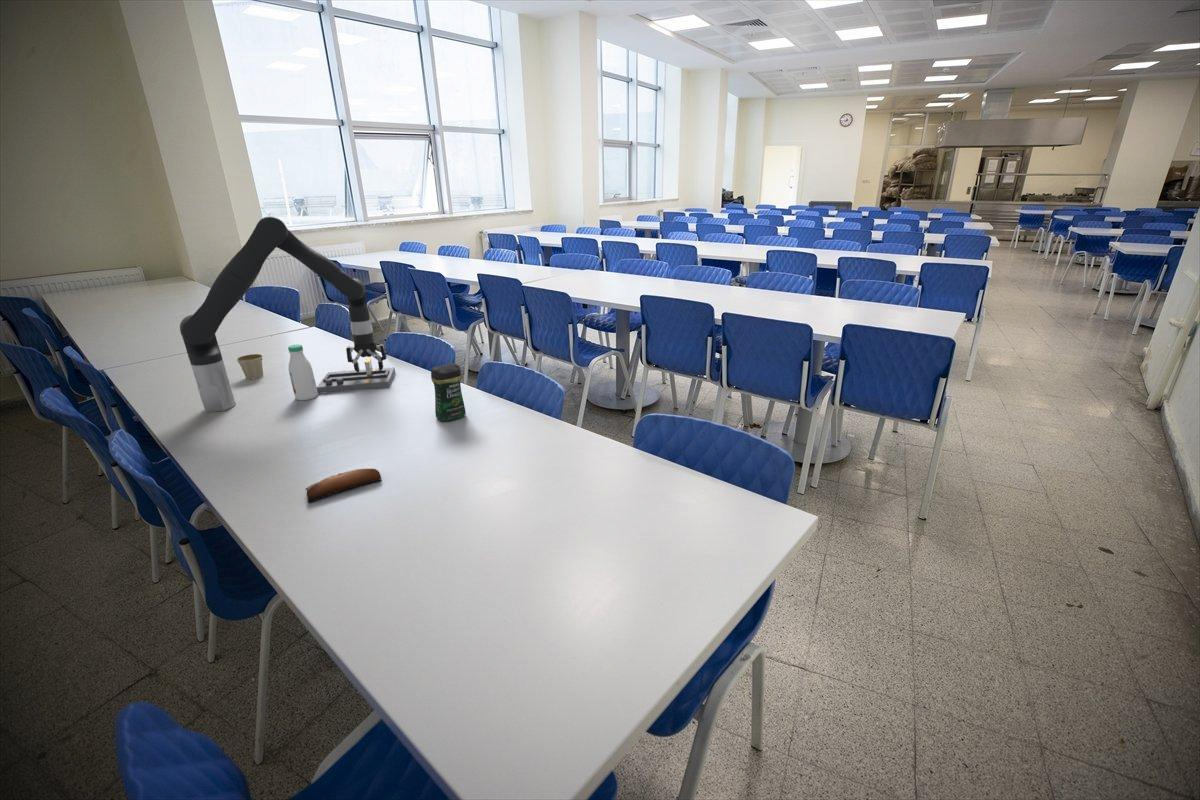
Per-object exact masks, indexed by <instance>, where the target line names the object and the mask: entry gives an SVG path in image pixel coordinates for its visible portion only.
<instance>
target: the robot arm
mask: <svg viewBox="0 0 1200 800" xmlns="http://www.w3.org/2000/svg"><path fill="white" fill-rule="evenodd" d="M275 249H279V250H281V251H282V252H285V253H287V254H289V255H290V256H291V257H293V258H294V259H296V260H297V261H299V262H300V263H301V264H303V265H304V266H305V267H307V268H308V269H309V270H310V271H312V272H313V273H315V274H316V275H317V276H319V277H320V278H321V279H323V280H324V281H326V282H327V283H329V284H331V285H332V286H333V287H334V288H335V289H336V290H338V292H340V293H341V294H342V295H343V296H344V297H346V298H347V302H348V315H349V320H350V330H351V334H352V340H353V344H354V345H353V346H350V345H349V346H347V347H346V349H345V351H346V358H347V362H348V363H352V364H353V367H354V369H353V370H355V371H357V372H359V371H360V370H361V369H360V366H359V362H358V360H359V359H360V357H361V358H366V357H368V358H372V357H373V358H374V359H375V360H377V364H378V369H379V371H381V370H382V369H383V368H384V363H383V361H385V360H387V358H388V356H387V353H386V348H385V344H384V343H381V344H376V342H375V335H374V328H373V325H372V321H371V318H370V311H369V307H368V301H367V292H366V291H367V290H366V285H365V283H364V282H363V281H362V280H360V279H358V278H353V277H351V276H350V275H348V274H347V273H346V272H345V271H344V270H343V269H342V267H340V266H339V265H338V264H336V263H334V261H332V260H330V259H329V258H328V257H326V256H325V255H323V254H322V253H320V252H318V251H317V250H315V249H313V248H312V247H310V246H309V245H307V244H306V243H305V242H303V241H302V240H301V239H299V238H298V237H297V236H296V235H294V233H292V232H291V230H289V229H288V227H287V226H286V224H285V223H284V222H283V220H281V219H280V218H278V217H275V216H265V217H263V218H261V219H260V220H258V222H257V224H256V225H255V228H254V229H253V231H252V232H251V234H250V236H249V238H248V240H247V241H246V242H245V244H244V245H243V246H242V248H241V249H239V250H238V251H237V252H236V254H235V255H234V256H233V257H232V258H231V259H230V261H229V262H228V263H227V264H226V265H225V266H224V267H223V269H222V270H221V271H220V272H219V274H218V275H217V277H216V278H215V280H214V282H213V284H212V285H211V286H210V289H209V290H208V294H207V295H206V298H205V299H204V301H203V303H202V304H201V305H200V306H199V308H198V309H197V310H196V311H195V312H194V313H193V314H190V315H187V316H185V317H184V318H182V320H181V322H180V324H179V332H180V335H181V337H182V340H183V343H184V346H185V351H186V354H187V357H188V361H189V363H190V366H191V369H192V373H193V377H194V378H195V382H196V385H197V390H198V392H199V393H198V394H199V396H200V399H201V402H202V406H203V408H204V413H210V412H211V413H213V412H215V413H216V412H223V411H226V410H228V409H232V408H233V407H234V406H236V401H235V398H234V397H235V396H234V393H233V391H232V386H231V384H230V379H229V377H228V373H227V370H226V367H225V362H224V358H223V356H222V352H221V349H220V345H219V343H218V339H217V336H216V333H217V331H218V330H219V327H220V326H221V324H222V322H223V321H224V320H225V318H226V317H227V316H228V314H229V313H230V311H231V310H233V308H234V307H235V306H236V305H237V304H238V303H239V302H240V301H241V299H242V298H243V297H244V296H245V294H246V293H248V291H249V289H250V288H251V287H252V285H253V284H254V282H255V281H256V279H257V278H258V276H259V274H260V272H261V270H262V268H263V266H264V263H265V262H266V260H267V258H268V257H269V256H270V255H271V254H272V252H273V251H275ZM377 349H378V351H380V353H381V355H380V354H379V353H378V352H377ZM353 351H354V352H355V353H356V356H355V357H354V358H353V355H352V353H353Z"/></svg>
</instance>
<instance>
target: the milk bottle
mask: <svg viewBox="0 0 1200 800" xmlns="http://www.w3.org/2000/svg"><path fill="white" fill-rule="evenodd" d="M287 349H288V353H289V355H290V358H289V363H288V374H289V379H290V382H291V387H292V391H293V395H294V398H295V400H297V401H310V400H312V399H315V398H317V397H318V395H319V393H318V391H317V383H316V379H315V375H314V371H313V367H312V365H311V363H310V361H309V360H308V358H307V357H306V356H305V354H304V347H303V345H302V344H292V345H289V346H287Z"/></svg>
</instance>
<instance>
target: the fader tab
mask: <svg viewBox="0 0 1200 800" xmlns="http://www.w3.org/2000/svg"><path fill="white" fill-rule="evenodd" d="M364 368H365V370H366V373H367V376H372V375H373V369H374V368H373V364H372V359H371V358H368V359H366V360H365V361H364Z"/></svg>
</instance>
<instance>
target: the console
mask: <svg viewBox="0 0 1200 800" xmlns="http://www.w3.org/2000/svg"><path fill="white" fill-rule="evenodd" d="M359 370H360V371H359V372H357V371H355V369H353V370H342V371H341V370H340V371H329V372H327V373H326V375H324V377H323V378H322V380H321V381H320V382H319V384H317V385H316V387H317V391H318V394H330V392H331V393H341V392H352V391H365V390H366V391H367V390H377V389H389V388H390V387H391V385H392V382H393V379H394V378H395V375H396V367H383V369H382V370H381V371H379V368H373V375H372V376H367V373H366V369H359Z"/></svg>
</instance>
